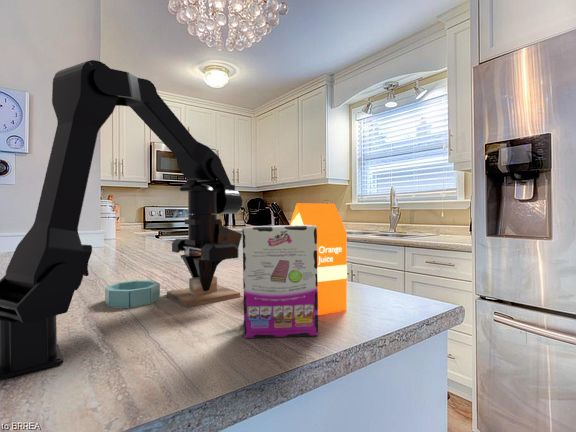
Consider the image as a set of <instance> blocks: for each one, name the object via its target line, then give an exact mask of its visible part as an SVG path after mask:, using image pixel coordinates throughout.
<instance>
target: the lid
mask: <svg viewBox="0 0 576 432" xmlns="http://www.w3.org/2000/svg"><path fill="white" fill-rule="evenodd" d="M188 280H189V285H188V287H187V288H181V289H174V290H168V291H166V295H167V296H169V297H171V298H173V299H175V300H177V301H179V302H181V303H183V304H185V305H187V306H188V307H191V306H196V305H201V304H206V303H211V302H216V301H221V300H226V299H231V298H236V297H240V296H241V292H240V291H236V290H234V289H231V288H227V287H224V286H221V285H219V284H218V276H215V275H214V276H213V279H212V282H211V286H210V289H209V291H203V288H202V285H201V282H200V279H199V277H196V278H192V277H190V278H188ZM236 299H237V298H236ZM231 300H232V299H231ZM226 301H227V300H226ZM221 302H222V301H221ZM216 303H217V302H216ZM211 304H212V303H211Z"/></svg>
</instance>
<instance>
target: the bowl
mask: <svg viewBox="0 0 576 432" xmlns="http://www.w3.org/2000/svg"><path fill="white" fill-rule="evenodd" d="M160 286H161V283H160V282H158V281H156V280H148V279H146V280H145V279H144V280H143V279H141V280H140V279H138V280H135V279H134V280H129V281H120V282H115V283H113V284H110V285H107V286H105V287H104V303H105V305H106V306H107V307H109V308H119V309H120V308H121V309H122V308H123V309H125V308H127V309H128V308H131V309H132V308H136V307H143V306H147V305H150V304H151V305H152V304H153V303H155V302H156V301H159V300H160V299H161V287H160Z"/></svg>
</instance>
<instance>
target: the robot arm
mask: <svg viewBox="0 0 576 432" xmlns="http://www.w3.org/2000/svg"><path fill="white" fill-rule="evenodd" d="M51 88H52V95H51V104H52V107H53V110H54V114H55V116H56V120H57V126H56V128H55V134H54V137H53V143H52V146H51V151H50V155H49V159H48V163H47V168H46V171H45V176H44V180H43V185H42V188H41V193H40V197H39V202H38V204H37V205H38V206H37V211H36V213H35V219H34V222H33V224H32V226H31V227H30V229H29V230H28V232H27V233H26V234H25V236H24V237H23V238H21V240H20V242H19V243H18V244H17V246H16V248H15V250H14V252H13V255H12V256H11V259H10V261H9V263H8V265H7V268H6V270H5V275H4V276H2V278H1V279H0V380H3V379H7V378H10V377H11V378H12V377H16V376H19V375H22V374H26V373H30V372H35V371H39V370H42V369H47V368H50V367H55V366H59V365H61V364H63V363H64V357H63V354H62V352H61V349H60V346H59V344H57V316H58V315H59V316H60V315H63V314H67V312H68V311H69V308H70V306H71V302H72V299H73V297H74V294H75V291H77V290H78V289H79V288H80V286H82V285H81V284H82V281H83V279H84V277H89V275H90V274H89V269H88V267H89V261H90V258H91V256H92V252H93V246H92V245H91V244H83V243H82V240H81V238H80V234H79V224H80V219H81V215H82V210H83V205H84V200H85V195H86V190H87V187H88V182H89V177H90V172H91V168H92V162H93V157H94V154H95V148H96V146H97V145H96V144H97V138H98V134H99V131H100V130H101V128H102V127H103V125H105V123H106V122H107V120H108V119H109V118H110V117H111V115H112V114H113V113H114V112H115V108H116V107H117V106H118V107H119V106H121V107H129V108H130V109H132V111H133V112H134V113H135V114H136V115H137V117H139V118H140V119H141V120H142V122H144V123H145V125H146V126H147V127H148V128H149V130H150V131H151V132H153V133H154V134H155V136H157V138H158V139H159V140H160V141H161V142H162V143H163V144H164V145H165V146H166V148H167V149H169V151H170V152H171V153H172V154H173V156H174V157H175V161H176V166H177V168H178V169H179V170H180V173H181V174H182V175H183V176H184V178H185V179H186V182H185V183H184V184H183V185H181V187H180V188H179V192H186V193H187V200H188V201H187V206H188V207H187V209H188V212H187V213H188V216H187V217H188V218H186V219H184V225H187V226H188V229H187V231H188V232H187V233H188V235H187V236H188V237H187V238H186V237H185V238H175V239H174V241H172V243H171V253H180V252H184V253H183V254H180V258H181V259H182V260H183V262H184V264H185V266H186V268H187V270H188V272H189V274H190V276H191V278H196V277H199V279H200V282H201V285H202V288H203V291H209V289H210V286H211V282H212V279H213V276H215V273H216V270H217V267H218V266H219V264H221V262H223V261H226V260H231V259H238V258H239V247H240V243H241V240H242V238H243V233H241V232H238V231H237V230H234V229H230V228H228V227H227V226H224V225H223V220H221V219H220V218H218V215H225V214H226V215H227V214H228V215H231V214H232V215H234V214H236V213H238V212H239V211H240V210H241V208H242V206H243V198H242V196H241V194H240V192H239V191H238V190H236V186H235V184H231V181H230V179H229V176H228V174H227V172H226V169H225V167H224V165H223V162H222V159H221V158H220V157H219V155H218V154H217V153H216V152H215V151H214V150H213V149H211V147H209V146H208V145H206V144H204V143H201V142H200V141H198V140H197V139H196V138H194V136H193V135H192V134H191V133H190V131H188V129H187V128H186V126H184V124H183V123H182V122H181V120H179V118H178V117H177V115H176V114H175V113H174V111H172V110H171V108H170V107H169V106H168V105H167V103H166V102H165V101H164V99H163V98H161V96H160V95H159V94H158V91H157V88H156V86H155V84H154V83H153V82H152V81H150V80H148V79H147V78H146V79H145V78H141V77H137V76H136V75H134V74H132V73H130V72H128V71H124V70H119V69H115V68H111V67H110V66H108V65H107V64H106V63H104V62H101V61H99V60H95V59H91V60H87V61H83V62H80V63H77V64H74V65H72V66H69V67H67V68H63V69H60V70H58V71H57V72H56V73H55V74H54V77H53V79H52V87H51Z"/></svg>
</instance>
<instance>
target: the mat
mask: <svg viewBox="0 0 576 432" xmlns="http://www.w3.org/2000/svg"><path fill="white" fill-rule="evenodd" d="M163 296H164V297H165V298H168V299H170V300H171V301H173V302H175V303H177V304H179V305H181V306H183V307H185V308H186V309H191V308H195V307H197V308H198V307H202V306H206V305H210V304H216V303H221V302H226V301H230V300H235V299H241V298H244V295H240V297H236V298H231V299H226V300H221V301H216V302H211V303H206V304H201V305H196V306H191V307H188V306H187V305H185V304H183V303H181V302H179V301H177V300H175V299H173V298H171V297H169V296H167V294H164V295H163Z"/></svg>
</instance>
